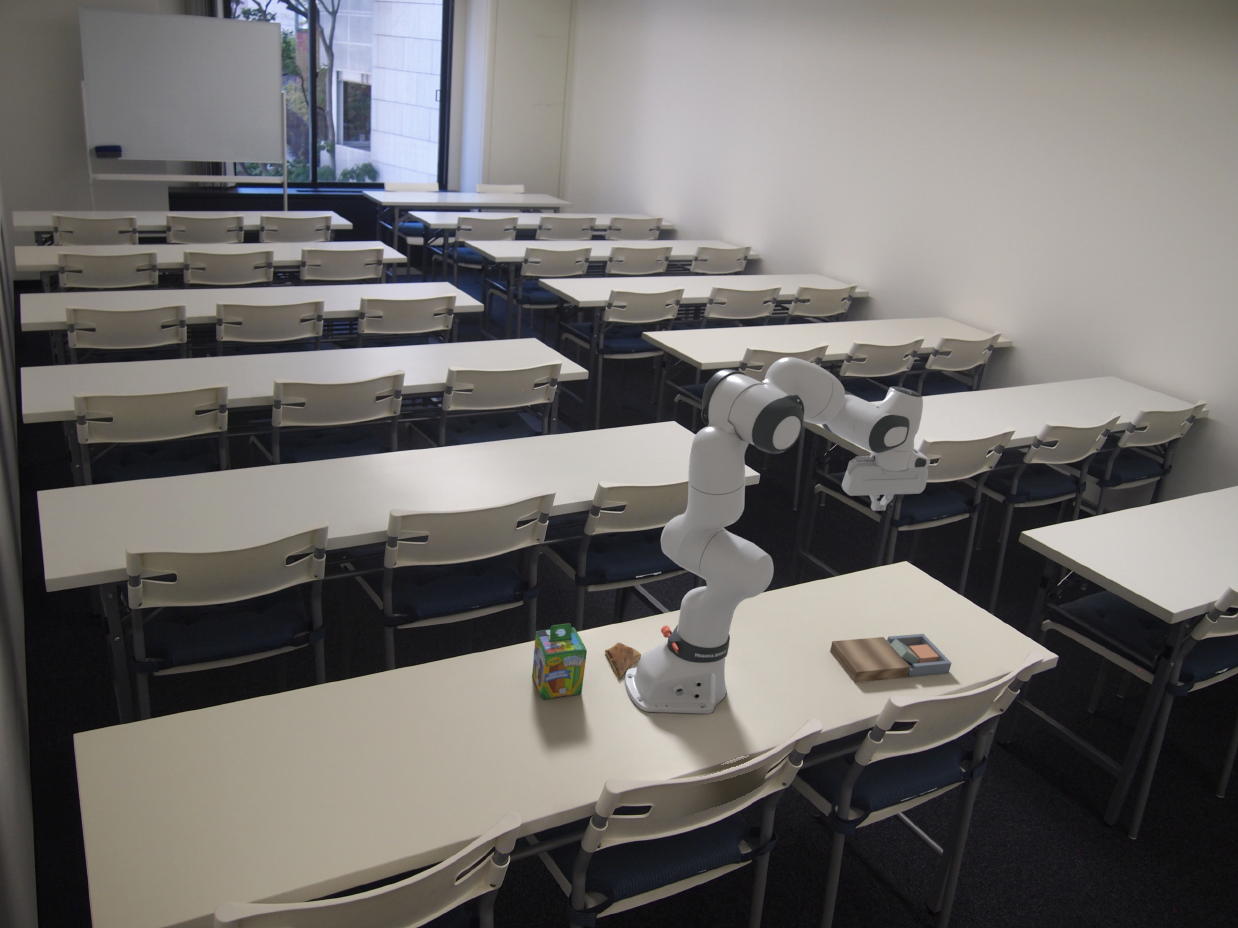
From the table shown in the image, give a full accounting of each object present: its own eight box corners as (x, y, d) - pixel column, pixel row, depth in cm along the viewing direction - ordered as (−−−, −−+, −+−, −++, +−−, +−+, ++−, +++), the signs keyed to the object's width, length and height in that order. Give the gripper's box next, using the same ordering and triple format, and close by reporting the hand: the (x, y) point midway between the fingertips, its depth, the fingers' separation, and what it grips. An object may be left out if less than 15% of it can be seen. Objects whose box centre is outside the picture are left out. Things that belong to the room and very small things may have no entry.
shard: (618, 681, 202) (619, 675, 202) (589, 668, 206) (590, 662, 205) (642, 658, 211) (643, 651, 210) (613, 646, 214) (614, 639, 214)
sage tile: (901, 657, 216) (907, 650, 216) (890, 644, 220) (895, 638, 220) (913, 665, 218) (919, 659, 218) (902, 652, 223) (907, 646, 222)
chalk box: (541, 700, 193) (546, 642, 187) (530, 674, 201) (535, 617, 195) (583, 694, 196) (589, 637, 190) (570, 668, 204) (576, 612, 198)
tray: (908, 677, 214) (911, 666, 213) (881, 646, 225) (884, 636, 224) (948, 673, 218) (951, 662, 216) (920, 643, 228) (923, 633, 227)
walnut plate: (854, 682, 210) (857, 671, 209) (829, 651, 221) (832, 641, 220) (907, 677, 214) (910, 666, 213) (880, 647, 225) (883, 636, 224)
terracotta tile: (938, 656, 219) (936, 663, 220) (927, 644, 224) (925, 650, 224) (921, 658, 218) (919, 665, 219) (909, 645, 222) (907, 652, 223)
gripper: (857, 462, 203) (844, 517, 208) (936, 460, 209) (922, 514, 214) (843, 450, 208) (831, 504, 214) (921, 449, 214) (907, 502, 220)
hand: (877, 509), depth 214 cm, fingers closed
